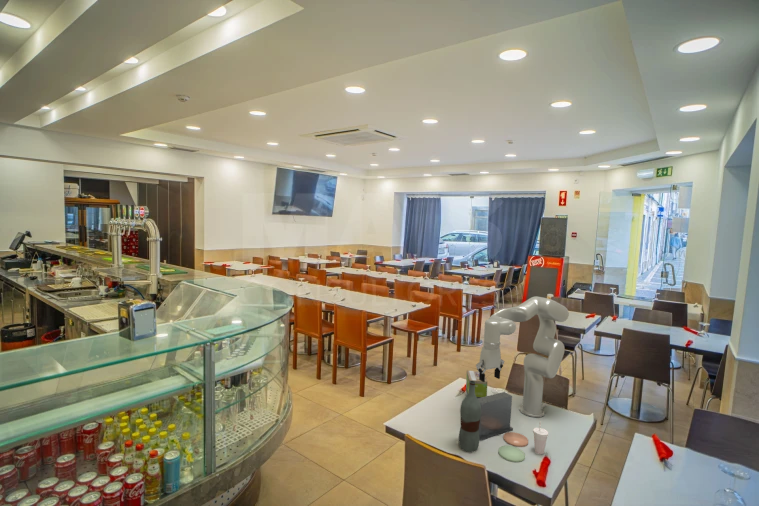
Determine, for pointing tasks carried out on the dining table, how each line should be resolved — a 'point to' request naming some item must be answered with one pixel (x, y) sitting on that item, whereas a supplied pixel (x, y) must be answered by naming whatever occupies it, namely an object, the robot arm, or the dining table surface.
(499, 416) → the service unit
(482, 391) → the tea box
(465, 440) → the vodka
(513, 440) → the terracotta coaster
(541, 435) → the smoothie
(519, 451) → the sage coaster
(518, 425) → the dining table surface
